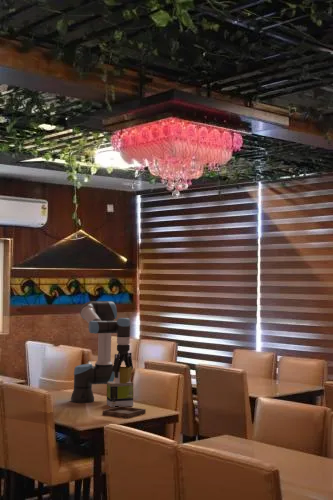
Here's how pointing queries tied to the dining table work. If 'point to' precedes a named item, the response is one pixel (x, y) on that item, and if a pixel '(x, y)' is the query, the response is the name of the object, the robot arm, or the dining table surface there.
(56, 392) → the dining table surface
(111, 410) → the walnut tray
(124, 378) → the flower pot
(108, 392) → the tea box
